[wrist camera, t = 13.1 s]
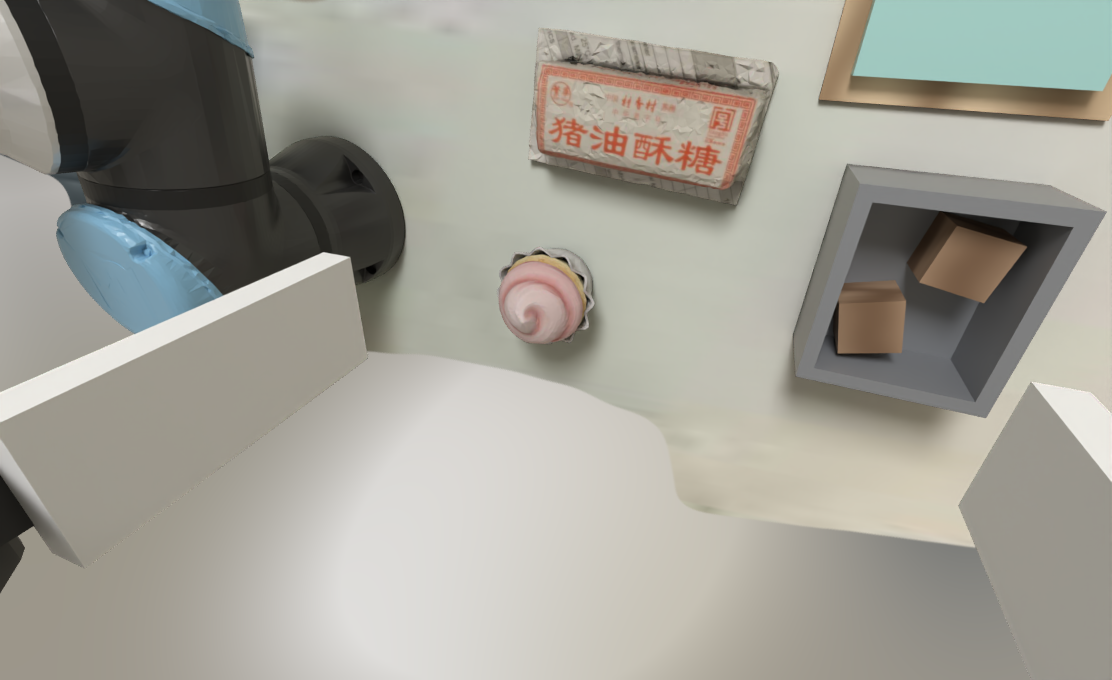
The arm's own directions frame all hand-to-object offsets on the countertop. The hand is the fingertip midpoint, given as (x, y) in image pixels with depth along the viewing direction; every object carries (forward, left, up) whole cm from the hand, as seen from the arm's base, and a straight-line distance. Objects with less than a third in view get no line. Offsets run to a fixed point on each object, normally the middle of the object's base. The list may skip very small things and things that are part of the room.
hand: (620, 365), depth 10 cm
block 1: (+12, -11, -33) cm, 37 cm away
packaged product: (-7, +1, -35) cm, 36 cm away
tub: (+14, -8, -34) cm, 38 cm away
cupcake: (-13, -14, -35) cm, 39 cm away
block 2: (+16, -5, -33) cm, 37 cm away
